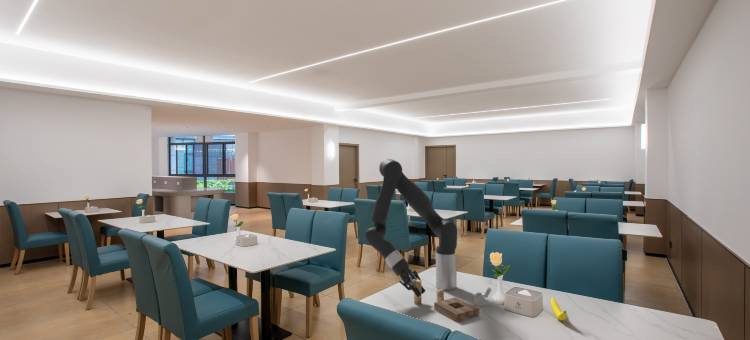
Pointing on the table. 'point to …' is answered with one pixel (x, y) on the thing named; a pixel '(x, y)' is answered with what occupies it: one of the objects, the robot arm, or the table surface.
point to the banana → (558, 310)
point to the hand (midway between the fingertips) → (421, 293)
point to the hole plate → (456, 309)
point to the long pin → (418, 284)
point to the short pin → (440, 294)
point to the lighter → (481, 297)
